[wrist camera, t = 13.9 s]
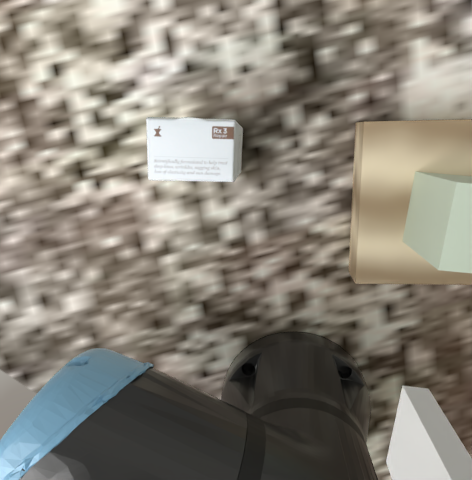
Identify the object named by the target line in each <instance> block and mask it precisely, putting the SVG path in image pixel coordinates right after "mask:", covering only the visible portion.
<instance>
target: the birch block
mask: <svg viewBox="0 0 472 480" xmlns="http://www.w3.org/2000/svg"><path fill="white" fill-rule="evenodd" d="M415 172H427V173H438V174H450V175H462V176H472V119H464V120H419V121H373V122H357V123H356V129H355V150H354V171H353V191H352V212H351V233H350V254H349V273H350V275H351V276H352V278H353V280H354V282H355V284H453V285H472V273H462V272H452V271H442V270H437V269H436V268H435V267H434V266H432V265H431V264H430V263H429V262H427V261H426V260H425V259H424V258H423V257H421V256H420V255H419V254H418V253H416V252H415V251H414V250H413V249H411V248H410V247H409V246H408V245H406V244H405V243H404V242H403V241H402V240H403V235H404V229H405V224H406V218H407V213H408V208H409V202H410V197H411V191H412V186H413V180H414V175H415Z"/></svg>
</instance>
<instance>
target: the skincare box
mask: <svg viewBox="0 0 472 480" xmlns="http://www.w3.org/2000/svg"><path fill="white" fill-rule="evenodd" d="M146 123H147V154H148V179H149V180H164V181H208V182H234V181H235V180H236V178H237V177H238V175H239V174H240V173H241V162H242V140H243V128H242V127H241V126H240V125H239V124H238V123H237V122H236V120H233V119H200V118H192V117H184V118H165V117H148V118H146Z"/></svg>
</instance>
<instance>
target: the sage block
mask: <svg viewBox="0 0 472 480" xmlns="http://www.w3.org/2000/svg"><path fill="white" fill-rule="evenodd" d="M402 241H403V242H404V243H405V244H406V245H408V246H409V247H410V248H411V249H413V250H414V251H415V252H416V253H418V254H419V255H420V256H421V257H423V258H424V259H425V260H426V261H427V262H429V263H430V264H431V265H432V266H434V267H435V268H436V269H437V270H442V271H452V272H462V273H472V176H462V175H450V174H438V173H427V172H415V175H414V180H413V186H412V191H411V197H410V202H409V208H408V213H407V218H406V224H405V229H404V235H403V240H402Z"/></svg>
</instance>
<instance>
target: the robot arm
mask: <svg viewBox="0 0 472 480" xmlns="http://www.w3.org/2000/svg"><path fill="white" fill-rule="evenodd" d="M153 367H154V365H153V364H151V363H148V362H147V363H142V362H139V361H137V360H134V359H132V358H129V357H127V356H124V355H122V354H119V353H117V352H114V351H112V350H109V349H105V348H95V349H90V350H87V351H85V352H83V353H81V354H79V355H78V356H76V357H75V358H73V359H72V360H71V361H69V362H68V363H67V364H66V365H65V366H64V367H63V368H62V369H60V370H59V371H58V372H57V373H56V374H55V375H54V376H53V377H52V378H51V379H50V380H49V381H48V382H47V383H46V384H45V386H44V387H43V388H42V389H41V390H40V391H39V392H38V393H37V394H36V396H35V397H34V398H33V399H32V400H31V402H30V403H29V404H28V405H27V406H26V407H25V409H24V410H23V411H22V412H21V414H20V415H19V416H18V417H17V419H16V420H15V421H14V423H13V424H12V425H11V426H10V428H9V429H8V430H7V432H6V433H5V434H4V436H3V437H2V439H1V440H0V480H378V478H377V476H376V473H375V470H374V467H373V464H372V461H371V458H370V455H369V452H368V449H367V445H366V442H367V435H368V428H369V421H370V414H371V405H370V397H369V392H368V389H367V386H366V383H365V380H364V378H363V375H362V373H361V371H360V369H359V367H358V365H357V364H356V362H355V361H354V360H353V358H352V357H351V356H350V355H349V354H348V353H347V352H346V351H345V350H343V349H342V348H341V347H340V346H338V345H337V344H335V343H333V342H332V341H330V340H328V339H325V338H323V337H320V336H317V335H314V334H309V333H303V332H284V333H277V334H273V335H270V336H267V337H264V338H261V339H259V340H257V341H255V342H254V343H252V344H250V345H249V346H248V347H246V348H245V349H244V350H243V351H242V352H241V353H240V354H239V355H238V356H237V357H236V358H235V359H234V361H233V362H232V364H231V365H230V367H229V369H228V371H227V374H226V377H225V380H224V385H223V391H222V397H221V400H220V399H218V398H216V397H214V396H212V395H209V394H207V393H205V392H203V391H201V390H199V389H197V388H194V387H192V386H190V385H188V384H186V383H184V382H182V381H179V380H177V379H175V378H173V377H171V376H169V375H167V374H164V373H162V372H160V371H158V370H156V369H154V368H153ZM386 463H387V466H388V469H389V472H390V475H391V478H392V480H472V458H471V457H470V455H469V453H468V452H467V450H466V449H465V447H464V445H463V444H462V442H461V440H460V439H459V437H458V436H457V434H456V432H455V431H454V429H453V427H452V426H451V424H450V423H449V421H448V419H447V418H446V416H445V414H444V413H443V411H442V410H441V408H440V406H439V405H438V403H437V401H436V400H435V398H434V397H433V395H432V393H431V392H430V390H429V389H427V388H419V387H411V386H402V390H401V395H400V400H399V404H398V409H397V414H396V418H395V423H394V427H393V432H392V437H391V441H390V446H389V451H388V455H387V460H386Z"/></svg>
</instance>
